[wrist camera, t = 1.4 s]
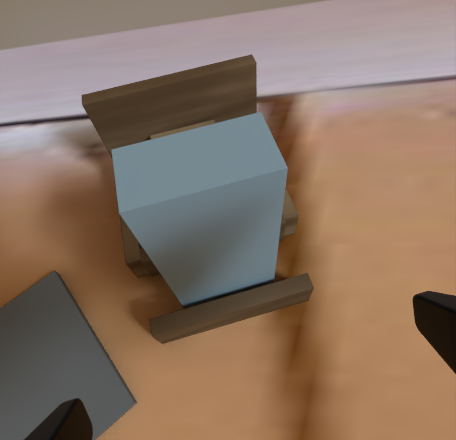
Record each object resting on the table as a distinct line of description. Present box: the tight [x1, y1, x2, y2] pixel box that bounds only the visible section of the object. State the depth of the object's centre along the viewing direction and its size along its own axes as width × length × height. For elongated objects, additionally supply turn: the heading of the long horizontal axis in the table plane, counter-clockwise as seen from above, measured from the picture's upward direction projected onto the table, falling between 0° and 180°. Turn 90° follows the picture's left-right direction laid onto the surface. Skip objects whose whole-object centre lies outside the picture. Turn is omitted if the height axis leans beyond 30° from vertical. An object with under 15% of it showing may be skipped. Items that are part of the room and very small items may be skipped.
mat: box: [0, 271, 137, 440], centre depth 20 cm, size 11×11×1 cm
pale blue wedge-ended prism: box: [112, 112, 288, 309], centre depth 18 cm, size 3×6×13 cm, turn 105°
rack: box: [82, 55, 314, 344], centre depth 22 cm, size 15×12×8 cm
